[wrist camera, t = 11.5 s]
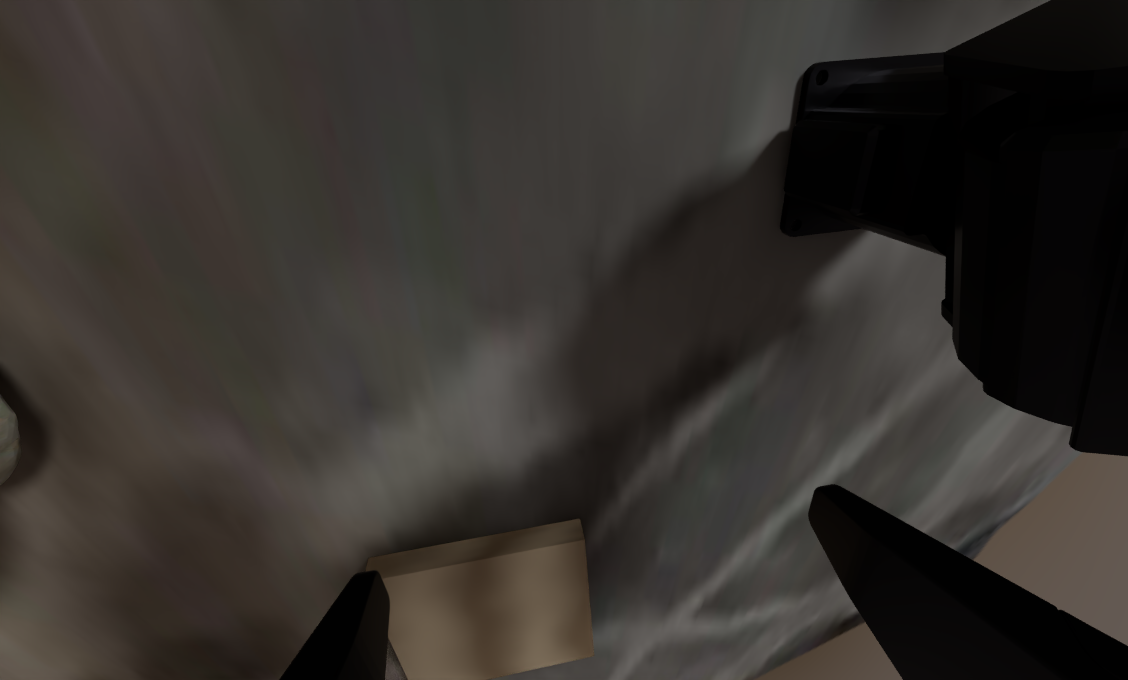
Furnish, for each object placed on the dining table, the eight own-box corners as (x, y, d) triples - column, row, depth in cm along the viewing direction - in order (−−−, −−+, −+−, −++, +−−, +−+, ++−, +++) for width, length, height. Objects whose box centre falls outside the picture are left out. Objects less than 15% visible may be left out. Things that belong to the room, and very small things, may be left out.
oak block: (578, 511, 27) (584, 539, 25) (588, 626, 33) (594, 655, 31) (370, 549, 26) (362, 582, 24) (419, 662, 31) (415, 695, 30)
